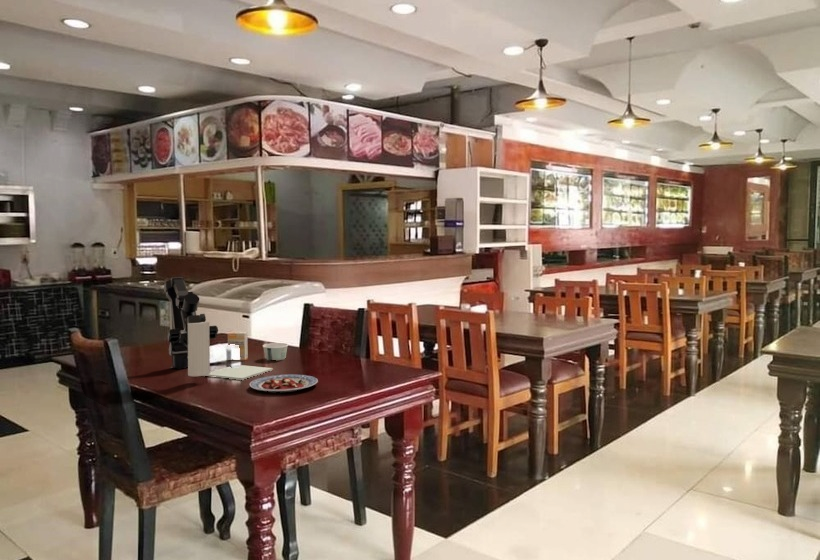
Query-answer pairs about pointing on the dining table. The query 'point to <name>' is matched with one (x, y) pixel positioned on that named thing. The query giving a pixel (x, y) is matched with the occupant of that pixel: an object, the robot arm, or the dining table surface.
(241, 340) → the supplement box
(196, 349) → the paper towel roll
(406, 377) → the dining table surface
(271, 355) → the food container
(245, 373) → the sage board
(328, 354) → the dining table surface
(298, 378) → the ceramic plate
